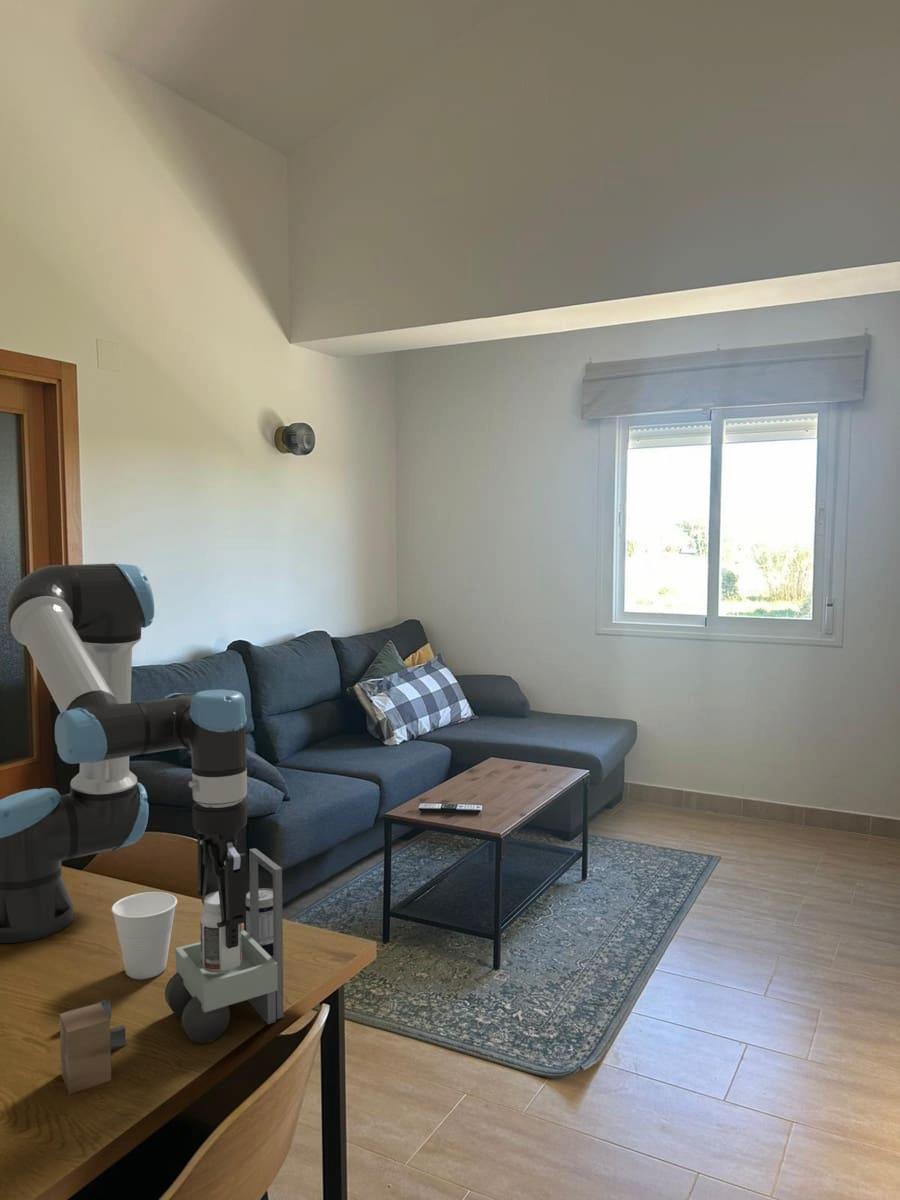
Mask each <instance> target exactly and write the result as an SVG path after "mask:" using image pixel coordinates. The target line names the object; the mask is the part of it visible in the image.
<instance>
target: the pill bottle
mask: <svg viewBox="0 0 900 1200" xmlns="http://www.w3.org/2000/svg"><path fill="white" fill-rule="evenodd" d="M204 909H205V910H206V911H205V912H204V911H203V913H202V914H201V915H200V920H199V923H200V924H199V925H200V931H199V932H200V934H199V935H200V942H201V965H202V967H203V969H205V970H206V971H209V972H214V973H220V972H227V971H230V970H232V969H234V968H236V967H233V968H230V969H226V970H222V971H221V970H220V957H219V928H218V927H217V923H219V922H222V919H221V910H220V900H219V891H217V892H213V893H210V894H208V895H207V896H206V897H205V898H204V905H203V910H204ZM241 931H242V923H241V924H240V963H241V960H242V940H241Z"/></svg>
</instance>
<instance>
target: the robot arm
mask: <svg viewBox="0 0 900 1200" xmlns="http://www.w3.org/2000/svg"><path fill="white" fill-rule="evenodd" d="M152 590H153V589H152V586H151V584H150V582H149V580H148V577H147V575H146V574H145V573H144V571H143V570H142V569H141V568H140V567H138V566H136V565H133V564H126V563H125V564H123V563H92V564H91V563H90V564H89V563H87V564H65V565H64V564H51V565H47V566H43V567H40V568H37V569H36V570H34V571H31V572H30V573H28V574H27V575H26V576H24V577H23V578H22V579H21V580H20V581H18V583H17V584H16V586H15V587H14V588H13V590H12V592H11V593H10V595H9V597H8V599H7V600H8V601H7V604H6V610H5V611H6V613H5V616H6V623H7V626H8V628H9V630H10V632H11V634H12V636H13V638H14V639H15V640H16V641H17V642H18V643H20V644H21V645H24V646H26V648H27V650H28V652H29V654H30V656H31V657H32V660H33V662H34V664H35V665H36V667H37V670H38V671H39V674H40V675H41V677H42V679H43V681H44V683H45V686H46V687H47V689H48V691H49V693H50V695H51V696H52V698H53V699H52V700H53V701H54V703H55V705H56V706H57V707H56V708H57V709H58V711H59V712H60V713H59V714H58V715H57V717H56V720H55V724H54V740H55V745H56V748H57V750H56V751H57V753H58V756H59V758H60V759H61V760H62V761H63V762H65V763H66V764H70V765H74V764H75V765H76V764H79V773H77V774H76V775H75V776H74V777H73V778H72V779H71V781H70V793H65V794H60V793H59V791H58V790H57V789H56V788H52V787H43V788H39V789H38V788H33V789H27V790H23V791H20V792H16V793H13V794H10V795H8V796H6V797H4V798H1V799H0V944H14V943H15V944H16V943H24V942H29V941H35V940H39V939H42V938H45V937H48V936H52V935H54V934H55V933H59V932H61V931H62V930H63V929H64V928H65V929H66V928H67V927H68V926H69V925H70V924H71V923H72V922H73V919H74V906H73V905H74V904H73V902H72V900H71V897H70V894H69V892H68V889H67V887H66V885H65V883H64V880H63V876H62V862H63V861H67V860H71V859H76V858H81V857H85V856H89V855H94V854H100V853H104V852H108V851H117V850H119V849H121V848H123V847H128V846H131V845H134V844H137V842H138V841H139V840H140V839H142V837H143V835H144V833H145V831H146V828H147V825H148V822H149V821H148V819H149V803H148V793H147V790H146V787H145V786H144V785H143V783H140V782H138V777H137V776H136V774H135V773H133V772H132V771H131V770H130V757H132V756H136V755H142V754H143V755H146V754H153V753H159V752H165V751H172V750H177V749H178V750H179V749H186V750H189V751H190V753H191V777H192V780H191V781H188V787H189V788H191V790H192V800H193V801H194V802H193V804H192V805H191V807H192V809H191V810H192V811H191V813H192V816H191V817H192V827H193V830H194V831H195V832H196V840H197V895H198V897H199V898H201V904H202V905H203V906H204V898H205V897H206V896H207V895H208V894H210V893H213V892H217V891H219V900H220V910H221V919H222V922H219V923H217V927H218V928H219V957H220V970H221V971H222V970H226V969H230V968H233V967H237V966H240V924H241V925H242V924H244V923H245V922H246V872H245V871H246V862H247V855H246V854H245V852H242V853H239V850H240V849H239V848H240V847H239V842H238V841H239V840H237V836H236V833H237V832H238V831H240V830H241V829H243V828H245V826H247V823H248V807H247V806H248V805H247V804H248V802H247V799H245V798H246V797H247V795H248V768H247V721H248V717H247V713H246V702H245V701H246V700H245V696H244V695H243V693H241V692H240V691H238V690H232V689H222V688H221V689H207V690H202V691H199V692H196V693H194V694H191V693H182V692H174V693H170V694H168V695H165V696H164V697H163V698H161V699H154V700H146V701H137V702H131V700H132V698H131V697H132V670H133V669H132V665H133V663H132V662H133V657H132V656H133V648H134V646H135V645H136V644H137V643H139V642H140V641H141V640H142V629H143V628H144V629H146V628H147V627H150V626H151V625H152V623H153V621H154V620H153V619H154V618H155V599H154V595H153V591H152ZM205 911H206V910H205V909H204V908H203V913H204V912H205Z"/></svg>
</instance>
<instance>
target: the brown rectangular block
mask: <svg viewBox="0 0 900 1200" xmlns="http://www.w3.org/2000/svg"><path fill="white" fill-rule="evenodd" d="M110 1019H111V1018H110ZM110 1019H109V1018H108V1016H107V1014H106V1012H105V1010H104V1008H103V1006H102V1004H101V1003H98V1004H94V1005H91V1006H87V1007H84V1008H80V1009H76V1010H73V1011H69V1012H66V1013H65V1012H63V1013H59V1027H60V1028H59V1030H60V1031H59V1033H60V1034H59V1035H60V1037H59V1038H60V1039H59V1040H60V1071H61V1072H60V1074H61V1077H62V1079H63V1082H64V1084H65V1087H66V1090H67V1092H68V1095H71V1094H74V1093H77V1092H80V1091H84V1090H86V1089H89V1088H93V1087H96V1086H99V1085H102V1084H104V1083H107V1082H111V1081H112V1060H111V1059H112V1058H111V1057H112V1055H111V1051H112V1050H110V1029H111V1021H110Z"/></svg>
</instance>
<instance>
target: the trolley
mask: <svg viewBox="0 0 900 1200" xmlns="http://www.w3.org/2000/svg"><path fill="white" fill-rule="evenodd" d="M248 851H249V854H248V860H249V861H248V862H249V863H248V864H249V867H248V869H249V892H250V935H249V934H248V933H247V932H246V931H245V930H244V929H243V930H241V940H242V960H241V963H240V966H237V967H236V968H234V969H232V970H230V971H227V972H220V973H214V972H209V971H206V970H205V969H203V967H202V965H201V941H197V942H195V943H194V942H193V943H191V944H186V945H182V946H178V947H175V973H174V975H172V977H171V978H170V979H169V980H168V981H167V984H166V987H165V988H164V989H165V990H164V999H165V1002H166V1003H167V1005H168V1007H169V1008H170V1010H171V1011H172V1013H174V1014H175V1015H176V1016H179V1017H181V1025H182V1027H183V1029H184V1031H185V1032H186V1034H187V1035H188V1036H189V1038H190V1039H191V1040H192V1041H194V1042H195V1043H198V1044H208V1043H210V1042H213V1041H215V1040H216V1039H219V1037H220V1036H221V1035H223V1033H224V1032H225V1031H226V1029H227V1027H228V1025H229V1023H230V1019H231V1010H230V1007H229V1006H230V1005H234V1004H238V1003H241V1002H245V1001H247V1003H249V1004H250V1005H251V1006H252V1007H253V1009H254V1010H255V1011H256V1012H257V1013H258V1015H259V1016H260V1017H261V1018H262V1019H263V1020H264V1022H265V1023H266V1024H267V1025H270V1024H274V1023H276V1022H277V1020H279V1019H282V1018H284V1014H285V1013H284V947H283V946H284V945H283V944H284V941H283V940H284V939H283V937H284V935H283V930H284V929H283V927H284V925H283V923H284V922H283V868H282V867H281V866H280V865H278V864H277V863H276V862H274V861H273V860H272V859H270V858H269V857H268V856H267V855H265V854H264V853H263V852H261V851H260V850H259V849H257V848H256V847H255V848H250V849H249V850H248ZM259 865H260V866H262V868H264V869H265V870H266V871H268V872H269V873H270V874H271V875H272V889H273V945H274V959H273V958H272V957H271V956H270V955H269V954H268V953H267V952H266V951H265V950H264V949H263V948H262V947H261V946H260V945H259V891H258V889H259Z"/></svg>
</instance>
